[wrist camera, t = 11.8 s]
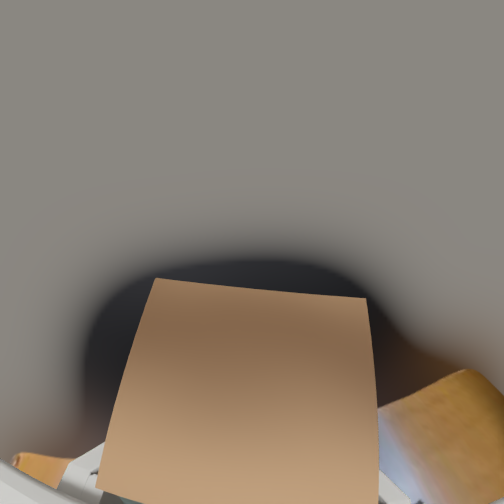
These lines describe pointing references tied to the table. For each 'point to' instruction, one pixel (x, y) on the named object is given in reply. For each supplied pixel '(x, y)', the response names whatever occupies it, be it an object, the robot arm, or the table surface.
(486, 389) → the table surface
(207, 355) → the walnut block
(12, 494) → the robot arm
